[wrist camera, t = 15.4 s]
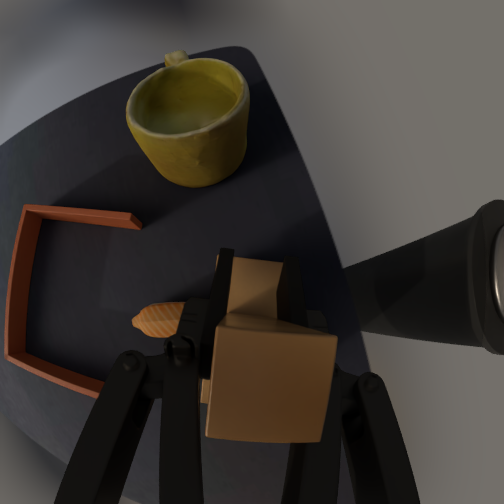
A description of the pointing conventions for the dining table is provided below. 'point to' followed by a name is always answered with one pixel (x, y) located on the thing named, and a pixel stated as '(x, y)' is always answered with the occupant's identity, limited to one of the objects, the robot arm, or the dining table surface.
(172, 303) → the sushi
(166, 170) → the mug
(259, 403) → the brown boxy piece
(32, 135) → the dining table surface
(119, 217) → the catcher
